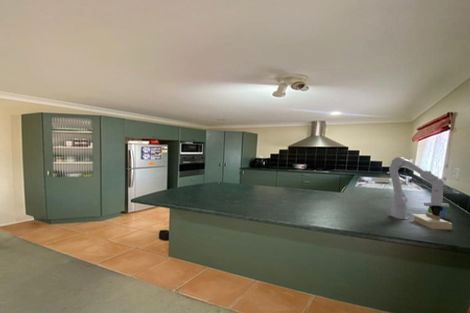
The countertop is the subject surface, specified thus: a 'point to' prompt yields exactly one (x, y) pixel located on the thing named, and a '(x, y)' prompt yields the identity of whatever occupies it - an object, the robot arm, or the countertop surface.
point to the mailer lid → (430, 218)
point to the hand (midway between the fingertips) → (435, 216)
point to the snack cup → (442, 213)
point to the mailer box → (434, 224)
